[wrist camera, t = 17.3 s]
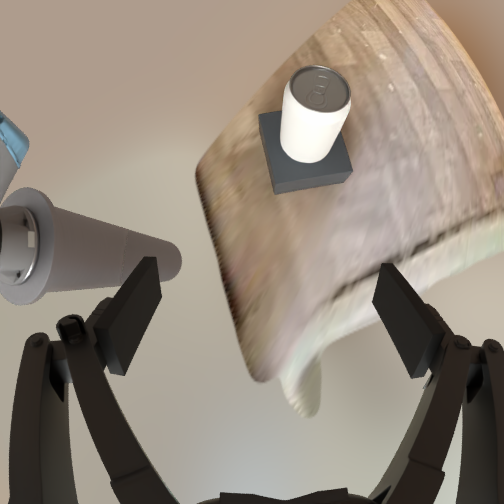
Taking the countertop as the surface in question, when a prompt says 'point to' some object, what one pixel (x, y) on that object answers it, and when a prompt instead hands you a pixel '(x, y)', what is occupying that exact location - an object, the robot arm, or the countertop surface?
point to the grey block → (298, 173)
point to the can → (313, 112)
